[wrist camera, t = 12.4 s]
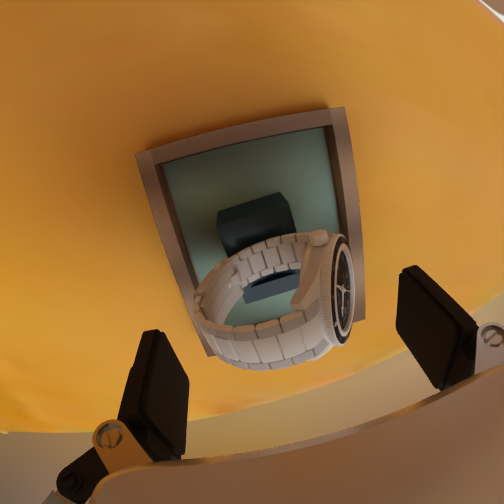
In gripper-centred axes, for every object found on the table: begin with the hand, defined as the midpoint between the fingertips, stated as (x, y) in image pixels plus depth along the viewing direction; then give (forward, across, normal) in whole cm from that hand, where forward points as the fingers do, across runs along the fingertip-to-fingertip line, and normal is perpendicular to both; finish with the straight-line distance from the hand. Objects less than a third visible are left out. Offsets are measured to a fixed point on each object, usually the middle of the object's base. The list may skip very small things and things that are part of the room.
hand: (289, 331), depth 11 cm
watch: (+11, 0, 0) cm, 11 cm away
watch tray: (+12, 0, +1) cm, 12 cm away
